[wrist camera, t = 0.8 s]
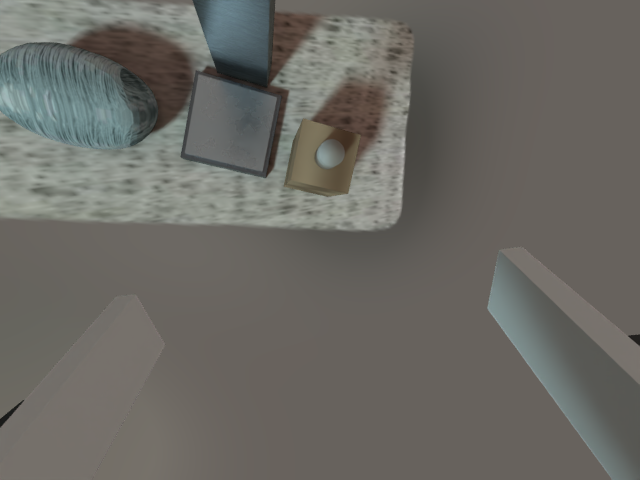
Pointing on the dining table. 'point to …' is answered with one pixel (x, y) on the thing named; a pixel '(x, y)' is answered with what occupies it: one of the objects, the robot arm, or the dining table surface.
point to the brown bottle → (322, 159)
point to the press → (234, 88)
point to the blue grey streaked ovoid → (75, 96)
